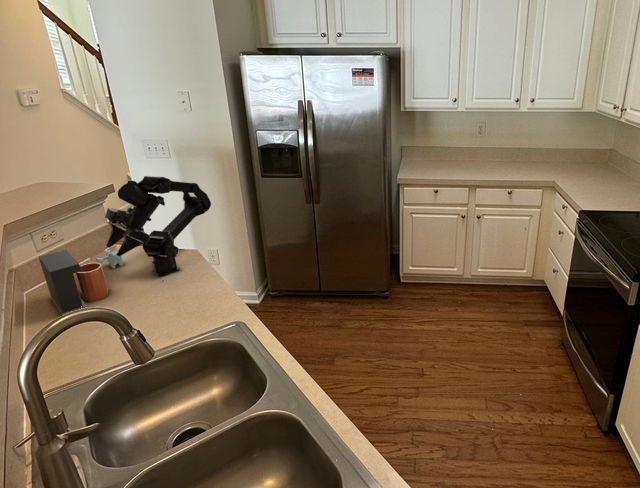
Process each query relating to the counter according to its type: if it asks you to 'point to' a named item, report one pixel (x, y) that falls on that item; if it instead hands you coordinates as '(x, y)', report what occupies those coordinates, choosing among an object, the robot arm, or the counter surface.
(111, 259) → the figurine
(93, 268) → the cup
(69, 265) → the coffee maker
